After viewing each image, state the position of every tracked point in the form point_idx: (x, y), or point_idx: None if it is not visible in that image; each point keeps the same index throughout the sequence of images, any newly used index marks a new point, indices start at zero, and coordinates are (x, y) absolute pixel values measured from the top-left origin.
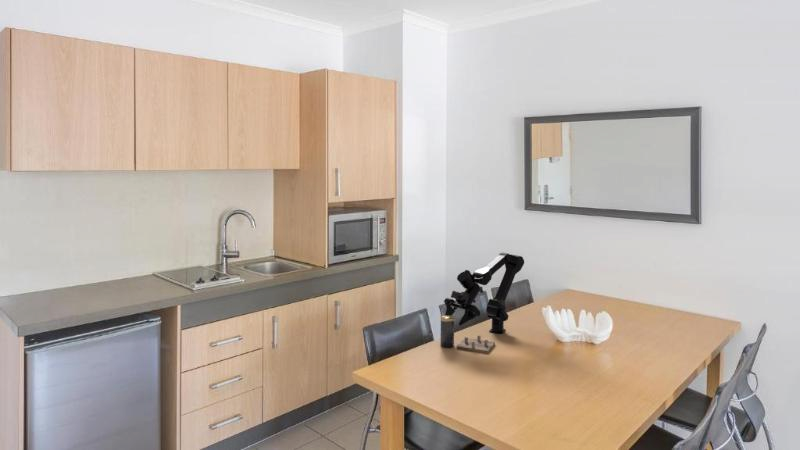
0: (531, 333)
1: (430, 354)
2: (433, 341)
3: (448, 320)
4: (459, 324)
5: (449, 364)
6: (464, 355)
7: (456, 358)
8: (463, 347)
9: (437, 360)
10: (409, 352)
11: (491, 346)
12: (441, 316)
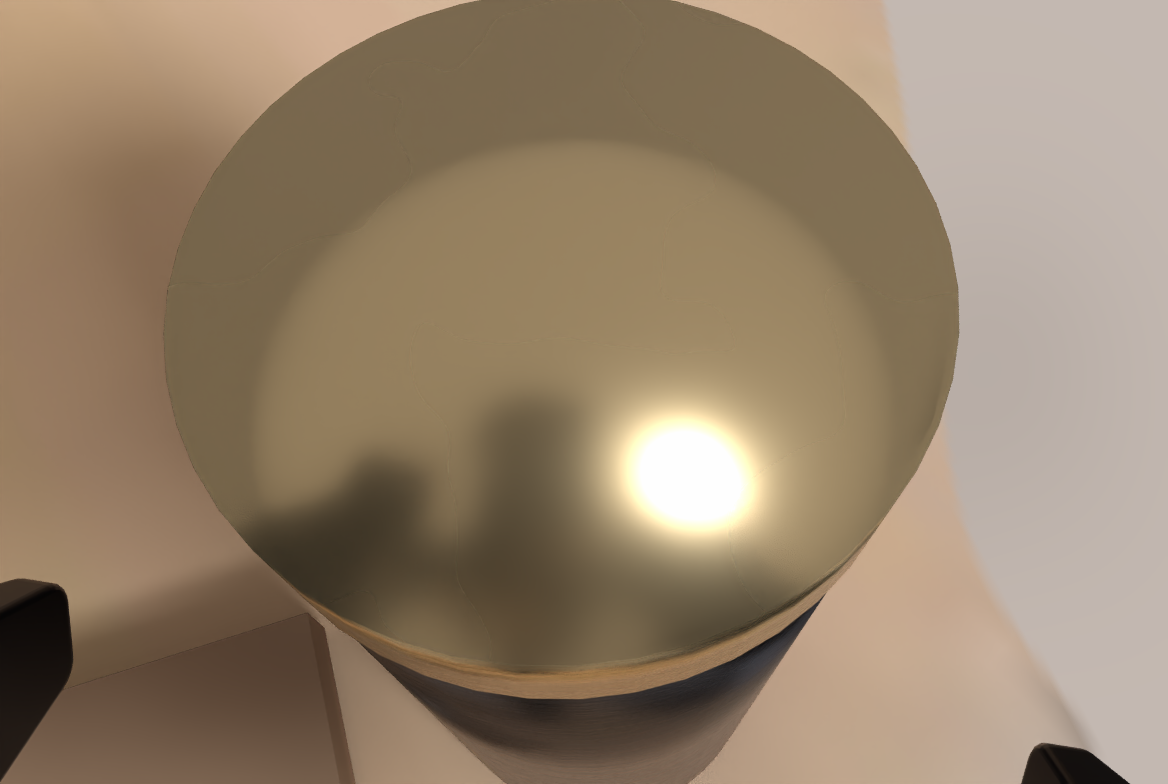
0: None
1: None
2: (1043, 690)
3: (330, 108)
4: (20, 598)
5: (96, 48)
6: (34, 463)
7: (105, 268)
8: (140, 667)
9: (322, 46)
10: (861, 10)
11: None
12: (908, 186)
